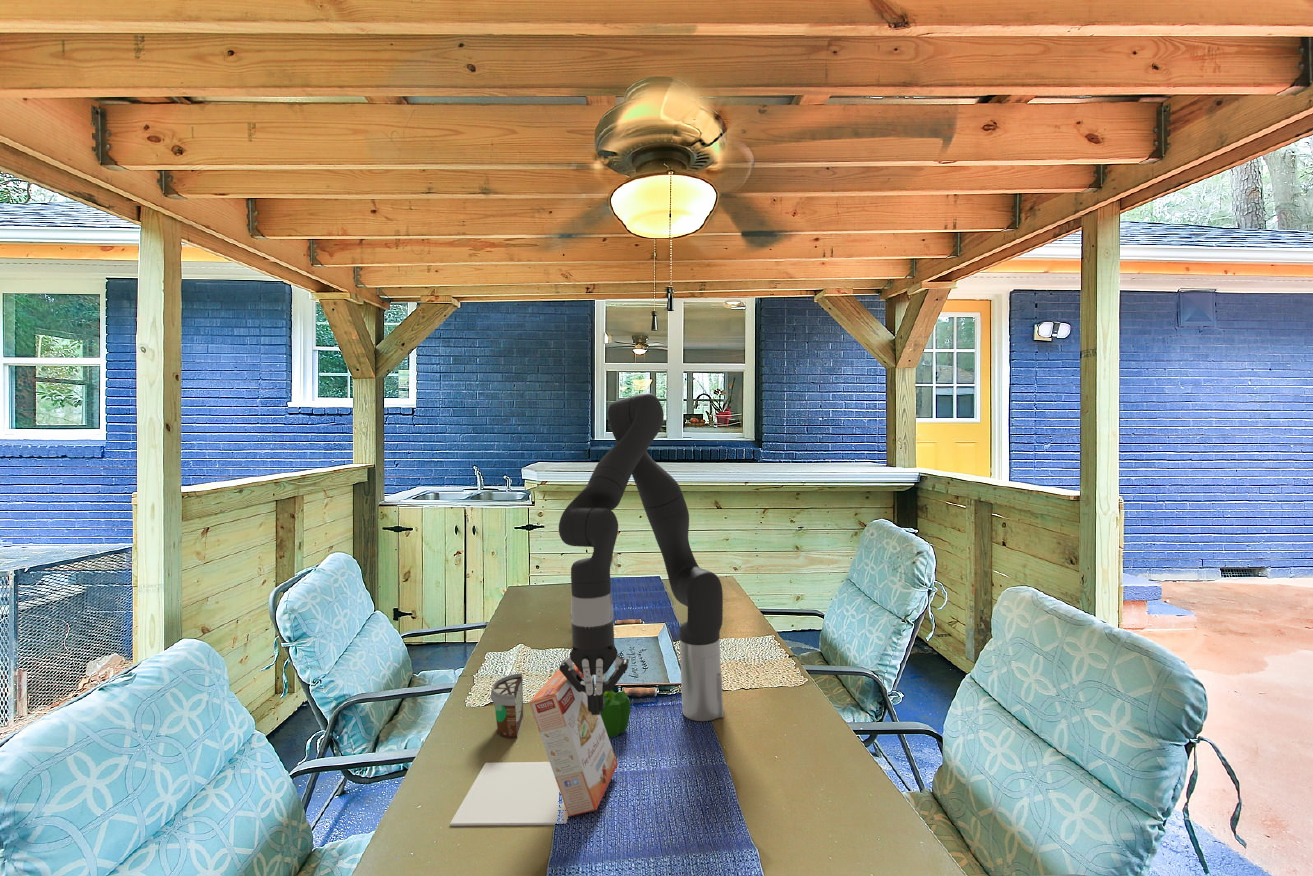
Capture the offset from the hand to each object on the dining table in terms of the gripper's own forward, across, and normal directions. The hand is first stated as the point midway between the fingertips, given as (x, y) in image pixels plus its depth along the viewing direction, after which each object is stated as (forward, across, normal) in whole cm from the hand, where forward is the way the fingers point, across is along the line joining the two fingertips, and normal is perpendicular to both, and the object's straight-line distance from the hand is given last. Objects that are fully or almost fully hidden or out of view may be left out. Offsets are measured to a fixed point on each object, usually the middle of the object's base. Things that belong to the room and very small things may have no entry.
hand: (596, 713), depth 107 cm
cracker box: (+14, +1, 0) cm, 14 cm away
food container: (+15, +24, -24) cm, 38 cm away
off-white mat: (+15, +14, -1) cm, 21 cm away
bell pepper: (+15, 0, -22) cm, 27 cm away
